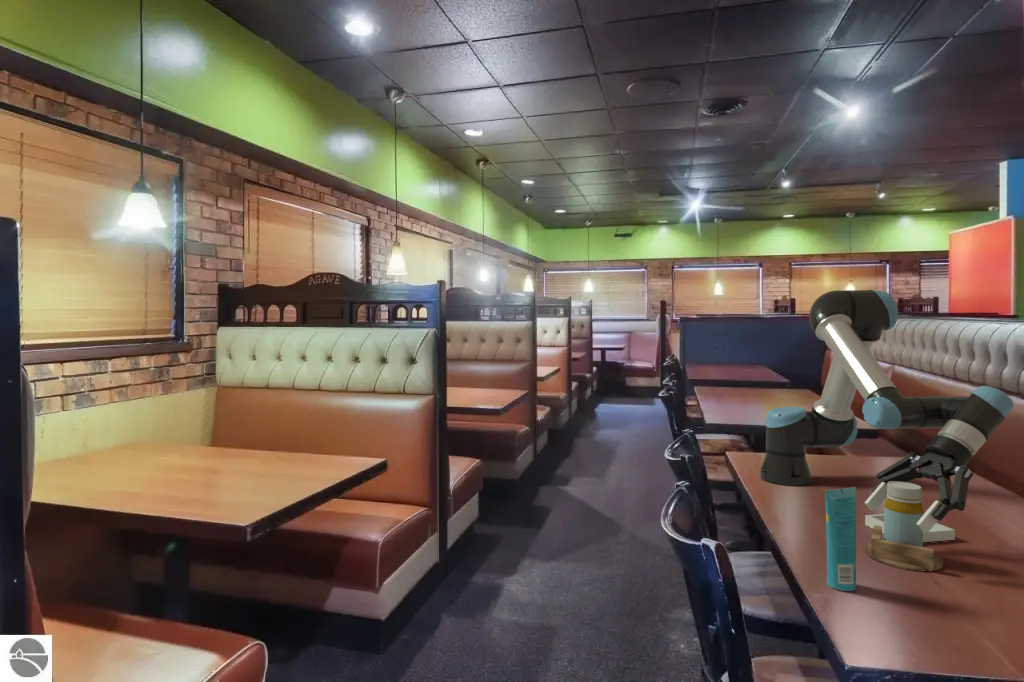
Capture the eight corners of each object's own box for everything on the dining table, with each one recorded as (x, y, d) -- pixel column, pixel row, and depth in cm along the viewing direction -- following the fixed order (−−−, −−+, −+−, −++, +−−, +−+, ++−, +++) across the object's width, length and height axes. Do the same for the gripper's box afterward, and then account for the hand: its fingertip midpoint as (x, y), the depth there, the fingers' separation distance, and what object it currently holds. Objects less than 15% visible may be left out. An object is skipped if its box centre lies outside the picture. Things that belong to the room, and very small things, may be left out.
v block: (901, 541, 131) (901, 523, 131) (963, 569, 116) (964, 548, 116) (846, 546, 129) (846, 527, 129) (903, 575, 114) (903, 554, 113)
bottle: (915, 549, 125) (917, 482, 124) (927, 561, 118) (929, 491, 118) (879, 545, 127) (880, 479, 126) (889, 557, 120) (890, 488, 120)
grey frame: (865, 525, 142) (865, 515, 142) (908, 521, 144) (908, 512, 144) (907, 544, 129) (908, 533, 129) (954, 540, 131) (955, 529, 131)
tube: (842, 577, 113) (843, 483, 112) (865, 587, 109) (866, 489, 108) (816, 584, 110) (816, 487, 110) (839, 595, 106) (839, 494, 105)
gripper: (1024, 471, 112) (958, 551, 110) (915, 444, 136) (860, 509, 134) (1002, 446, 111) (935, 526, 109) (896, 424, 135) (840, 489, 133)
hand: (893, 517), depth 122 cm, fingers open, 13 cm apart
